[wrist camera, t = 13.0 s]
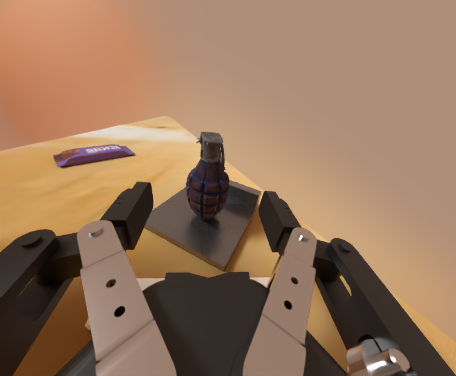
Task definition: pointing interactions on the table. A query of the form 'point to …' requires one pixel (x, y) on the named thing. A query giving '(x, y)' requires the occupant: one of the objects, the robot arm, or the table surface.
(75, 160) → the snack package
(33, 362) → the table surface
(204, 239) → the plate
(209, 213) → the hand grenade
